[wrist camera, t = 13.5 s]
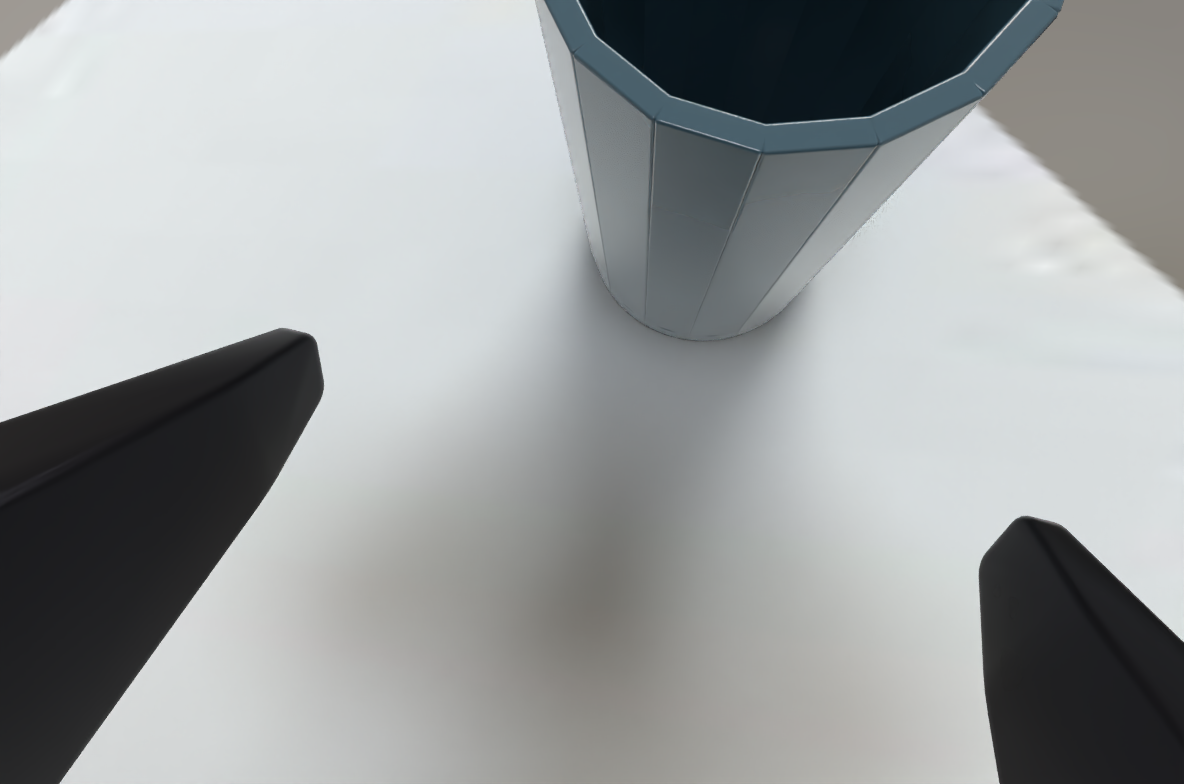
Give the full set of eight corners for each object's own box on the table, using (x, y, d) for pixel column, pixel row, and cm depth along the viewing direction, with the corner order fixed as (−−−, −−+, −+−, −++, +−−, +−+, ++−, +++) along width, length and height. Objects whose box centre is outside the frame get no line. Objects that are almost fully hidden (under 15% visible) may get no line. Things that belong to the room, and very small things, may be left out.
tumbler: (773, 372, 19) (993, 225, 7) (561, 299, 20) (445, 58, 8) (844, 164, 20) (1157, -287, 8) (635, 101, 20) (630, -403, 9)
